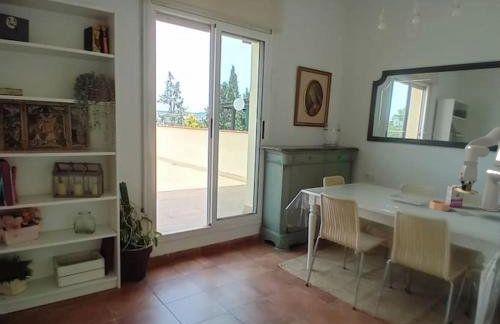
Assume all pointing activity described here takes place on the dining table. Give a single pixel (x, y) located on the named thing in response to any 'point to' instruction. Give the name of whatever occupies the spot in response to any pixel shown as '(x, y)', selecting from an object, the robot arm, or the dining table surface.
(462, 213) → the mat
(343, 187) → the dining table surface
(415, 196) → the dining table surface
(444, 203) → the bowl
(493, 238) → the dining table surface
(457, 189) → the lid
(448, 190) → the candy bar box
